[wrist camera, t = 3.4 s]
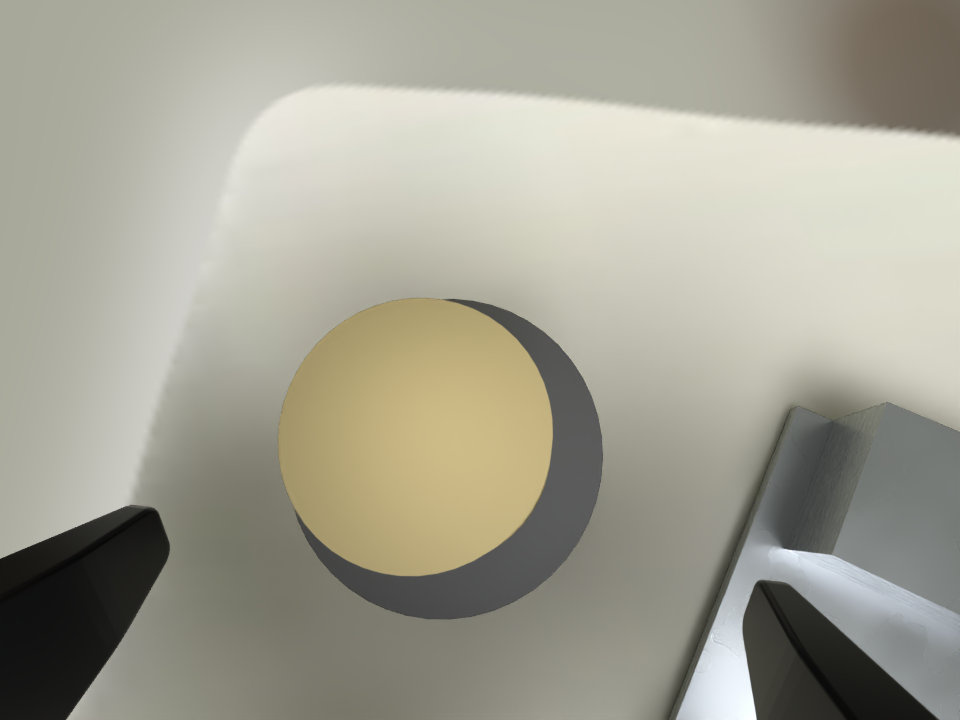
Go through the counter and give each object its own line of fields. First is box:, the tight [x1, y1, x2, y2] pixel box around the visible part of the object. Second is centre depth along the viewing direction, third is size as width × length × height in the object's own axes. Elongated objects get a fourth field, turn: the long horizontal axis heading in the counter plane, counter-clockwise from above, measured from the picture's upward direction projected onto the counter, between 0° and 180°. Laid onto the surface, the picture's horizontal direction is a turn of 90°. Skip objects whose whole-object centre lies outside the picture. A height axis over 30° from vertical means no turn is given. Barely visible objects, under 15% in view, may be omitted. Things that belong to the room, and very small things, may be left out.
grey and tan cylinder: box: [278, 298, 603, 619], centre depth 13 cm, size 4×4×13 cm
